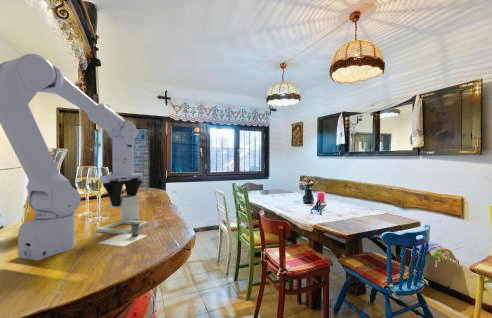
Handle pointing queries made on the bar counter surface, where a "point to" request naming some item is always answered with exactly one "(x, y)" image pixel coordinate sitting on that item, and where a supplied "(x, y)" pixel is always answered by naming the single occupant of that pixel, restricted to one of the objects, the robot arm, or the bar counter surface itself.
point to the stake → (135, 229)
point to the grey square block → (126, 201)
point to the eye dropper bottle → (130, 213)
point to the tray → (118, 231)
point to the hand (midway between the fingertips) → (123, 204)
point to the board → (122, 240)
